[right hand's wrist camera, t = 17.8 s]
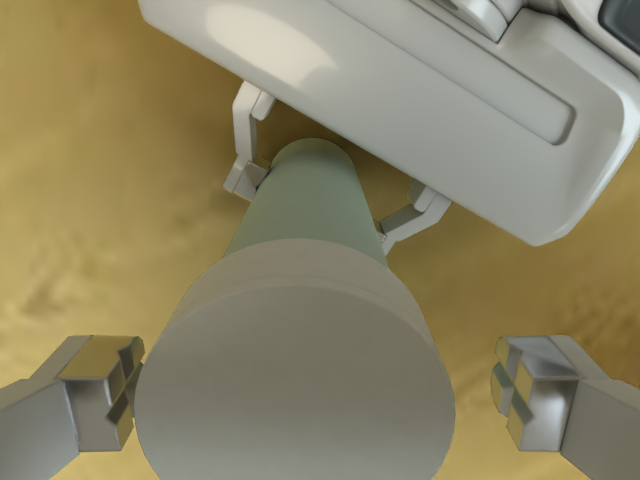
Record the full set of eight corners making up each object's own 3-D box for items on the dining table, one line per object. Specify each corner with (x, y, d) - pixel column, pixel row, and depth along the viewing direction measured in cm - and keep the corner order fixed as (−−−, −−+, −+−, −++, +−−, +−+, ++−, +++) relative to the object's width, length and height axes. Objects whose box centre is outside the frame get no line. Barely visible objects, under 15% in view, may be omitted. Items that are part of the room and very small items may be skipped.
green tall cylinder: (355, 134, 25) (429, 279, 8) (359, 222, 27) (427, 495, 10) (261, 141, 25) (138, 299, 8) (272, 229, 27) (189, 508, 10)
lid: (177, 216, 9) (136, 257, 7) (460, 261, 9) (498, 313, 7) (164, 439, 11) (129, 521, 9) (396, 469, 12) (412, 554, 10)
